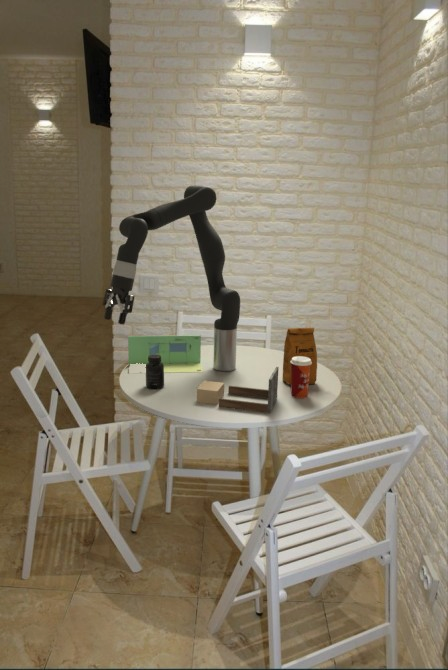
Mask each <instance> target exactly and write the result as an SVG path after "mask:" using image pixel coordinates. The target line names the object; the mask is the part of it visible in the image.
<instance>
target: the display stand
mask: <svg viewBox="0 0 448 670" xmlns="http://www.w3.org/2000/svg"><path fill="white" fill-rule="evenodd" d="M127 341H128V342H127V344H128V346H127V349H128V366H129V365H130V364H136V363H138V364H139V363H140V364H142V363H143V364H147V363H148V356H149V355H160V356H161V362H162V363H163V365H164V374H175V373H180V374H181V373H203V372H204V370H203V367H202V363H201V350H202V349H201V347H202V346H201V345H202V342H201V341H202V335H199V334H198V335H196V334H195V335H191V334H190V335H127Z"/></svg>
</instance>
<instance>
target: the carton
mask: <svg viewBox="0 0 448 670" xmlns="http://www.w3.org/2000/svg"><path fill="white" fill-rule="evenodd" d="M224 395H225V382H219V381H210V380H203V381H202V383H201V384H200V385H198V387H197V388H196V402H197V403H204V404H211V405H219V398H222V399H223V397H224Z"/></svg>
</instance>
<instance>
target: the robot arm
mask: <svg viewBox="0 0 448 670" xmlns="http://www.w3.org/2000/svg"><path fill="white" fill-rule="evenodd" d="M216 202H217V193H216V191H215V190H214V188H212V187H211V186H208V185H201V184H200V185H196V184H195V185H189V186H188V187H187V186H186V189H185V190H184V192H183V198H182V199H180V200H179V199H178V200H175V201H170V202H167V203H164V204H163V203H162V204H159V205H158V206H155V207H152V208H151V209H148V210H146V211H144V212H139V213H136V214H132V215H129V216H126V217H125V218H123V219H122V220H121V222H120V223H119V225H118V227H119V234H121V235H122V236H123V237H125V238H127V240H125V241H126V242H125V243H123V244H121V245H119V247H118V251H117V255H116V259H115V264H114V266H113V271H112V276H111V281H110V287H111V289H110V288H106V289H105V292H104V297H103V301H102V306H104V307H105V312H104V316H103V318H104V319H105V320H108V321H110V320H111V319H112V314H113V308H114V307H115V306H116V305H117V306H118V308H119V310H120V313H119V317H118V322H117V323H118V324H119V325H125V324H126V320H127V315H128V314H131V313H133V307H134V301H135V295H133V294H130V292H132V291H133V289H134V283H135V277H136V274H137V265H138V261H139V255H140V252H141V250H142V248H143V246H144V244H145V241H146V240H147V237H148V232H149V231H155V230H158V229H160V228H162V227H165V226H167V225H169V224H171V223H174V222H175V221H177V220H180V219H182V218H186V217H187V216H189V219H190V222H191V225H192V227H193V231H194V234H195V235H194V236H195V239H196V241H197V245H198V251H199V253H200V258H201V261H202V264H203V268H204V272H205V277H206V281H207V286H208V292H209V293H208V294H209V298H210V299H209V300H210V303H211V305H212V307H213V308H215V309H216V310H219V311H221V313H220V314H221V315H220V318H216V319H215V320H214V322H213V323H214V324H213V327H214V328H213V364H212V367H213V369H214V370H216V371H220V372H231V371H234V370H236V365H237V339H238V338H237V337H238V336H237V334H238V333H237V331H238V330H237V329H238V323H239V320H240V311H241V295H240V294H239V292H238V291H236V290H235V289H231V288H228V287H226V284H225V281H224V275H223V270H224V267H225V261H226V254H225V253H226V252H225V249H224V245H223V242H222V241H223V240H222V239H221V237H220V236H219V234H218V232H217V230H216V229H215V228H214V227H213V225H212V223H211V222H210V221H209V219H208V215H207V213H206V211H210V210H211V209H213V207H215V205H216Z"/></svg>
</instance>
